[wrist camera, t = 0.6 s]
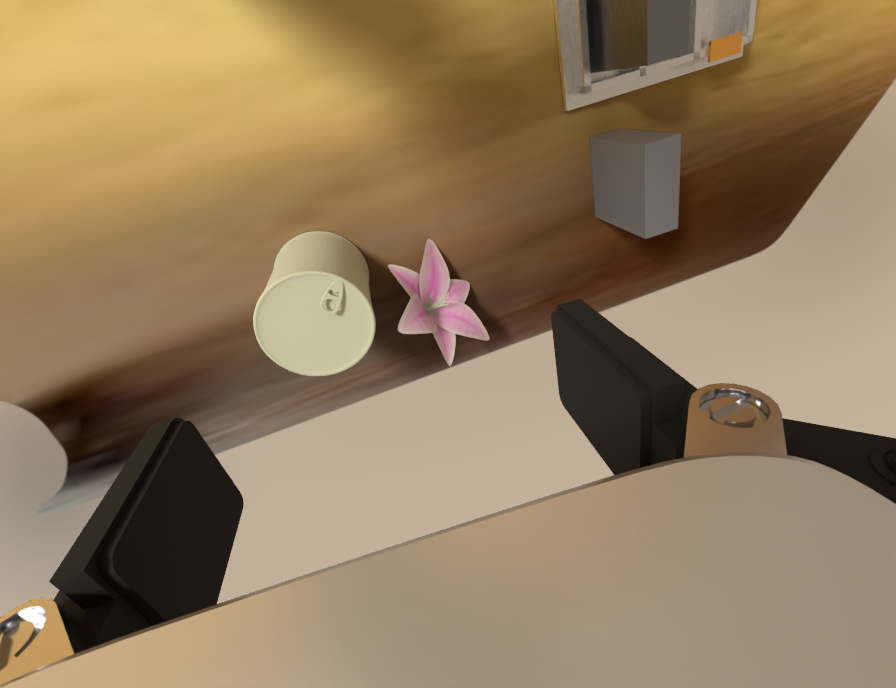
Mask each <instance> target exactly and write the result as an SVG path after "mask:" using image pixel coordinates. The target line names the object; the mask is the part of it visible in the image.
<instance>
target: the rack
mask: <svg viewBox="0 0 896 688" xmlns="http://www.w3.org/2000/svg"><path fill="white" fill-rule="evenodd" d="M553 2H554V12H555V23H556V33H557V44H558V54H559V65H560V75H561V85H562V96H563V106H564V111H570V110H573V109H576V108H579V107H582V106H586V105H589V104H592V103H595V102H598V101H602V100H605V99H608V98H611V97H614V96H618V95H621V94H624V93H627V92H630V91H634V90H637V89H640V88H643V87H646V86H650V85H653V84H656V83H659V82H662V81H666V80H669V79H672V78H675V77H678V76H682V75H685V74H688V73H691V72H694V71H698V70H701V69H704V68H707V67H710V66H714V65H717V64H720V63H723V62H726V61H730V60H733V59H736V58H739V57H742V56H743V47H744V45H745V44H748V43H751V42H753V35H754V26H755V16H756V7H757V0H553Z"/></svg>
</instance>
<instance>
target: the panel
mask: <svg viewBox="0 0 896 688" xmlns="http://www.w3.org/2000/svg"><path fill="white" fill-rule="evenodd" d="M590 150H591V164H592V179H593V193H594V207H595V217H596V218H599V219H601V220H603V221H606V222H608V223H610V224H612V225H615V226H617V227H619V228H621V229H624V230H626V231H628V232H630V233H633V234H635V235H637V236H640V237H642V238H644V239H647V238H650V237H653V236H656V235H659V234H662V233H665V232H668V231H671V230H674V229H677V228H678V216H679V187H680V159H681V133H673V132H660V131H648V130H635V129H623V128H619V129H616V130H613V131H610V132H606V133H603V134H600V135H597V136H594V137H591V138H590Z"/></svg>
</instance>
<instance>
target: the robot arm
mask: <svg viewBox="0 0 896 688" xmlns="http://www.w3.org/2000/svg"><path fill="white" fill-rule="evenodd" d="M551 320H552V330H553V339H554V348H555V358H556V367H557V376H558V386H559V394H560V398H561V401H562V404H563V406H564V407H565V409H566V410H567V411H568V413H569V414H570V415H571V417H572V418H573V419H574V421H575V422H576V423H577V425H578V426H579V428H580V429H581V430H582V432H583V433H584V434H585V436H586V437H587V438H588V440H589V441H590V443H591V444H592V445H593V446H594V448H595V449H596V450H597V452H598V453H599V455H600V456H601V457H602V459H603V460H604V461H605V463H606V464H607V466H608V467H609V468H610V469H611V471H612V472H613V474H614V476H611V477H607V478H604V479H600V480H597V481H594V482H591V483H588V484H585V485H582V486H579V487H575V488H572V489H569V490H565V491H562V492H559V493H556V494H552V495H549V496H546V497H543V498H540V499H537V500H534V501H531V502H527V503H524V504H521V505H519V506H515V507H512V508H509V509H506V510H503V511H500V512H497V513H493V514H490V515H487V516H484V517H481V518H478V519H475V520H472V521H468V522H465V523H462V524H459V525H456V526H453V527H450V528H447V529H444V530H440V531H438V532H435V533H431V534H428V535H426V536H422V537H419V538H416V539H413V540H410V541H407V542H404V543H401V544H398V545H395V546H392V547H388V548H386V549H382V550H379V551H376V552H373V553H370V554H367V555H364V556H361V557H358V558H355V559H352V560H349V561H346V562H343V563H340V564H337V565H334V566H331V567H328V568H325V569H322V570H319V571H315V572H312V573H310V574H306V575H303V576H300V577H297V578H294V579H292V580H288V581H285V582H282V583H279V584H277V585H274V586H270V587H267V588H264V589H262V590H258V591H255V592H252V593H249V594H246V595H243V596H240V597H238V598H234V599H231V600H229V601H226V602H223V603H219V604H217V601H218V597H219V593H220V590H221V586H222V582H223V579H224V575H225V571H226V568H227V564H228V561H229V557H230V553H231V550H232V546H233V542H234V539H235V535H236V532H237V528H238V524H239V521H240V517H241V513H242V509H243V498H242V495H241V493H240V491H239V490H238V488H237V487H236V486H235V484H234V483H233V481H232V480H231V478H230V477H229V475H228V474H227V473H226V471H225V470H224V468H223V467H222V465H221V464H220V462H219V461H218V459H217V458H216V457H215V455H214V454H213V452H212V451H211V449H210V448H209V446H208V445H207V443H206V442H205V441H204V439H203V438H202V436H201V435H200V433H199V432H198V430H197V429H196V427H195V426H194V425H193V424H192V423H191V422H190V421H184V420H182V419H181V418H174V419H171V420H167V421H164V422H160V423H157V424H154V425H151V426H150V427H149V429H148V430H147V432H146V433H145V435H144V436H143V438H142V439H141V441H140V443H139V444H138V446H137V447H136V449H135V450H134V452H133V453H132V455H131V456H130V458H129V459H128V461H127V463H126V464H125V466H124V467H123V469H122V470H121V472H120V473H119V475H118V476H117V478H116V479H115V481H114V483H113V484H112V486H111V487H110V489H109V490H108V492H107V493H106V495H105V496H104V498H103V500H102V501H101V503H100V504H99V506H98V507H97V509H96V510H95V512H94V513H93V515H92V516H91V518H90V520H89V521H88V523H87V524H86V526H85V527H84V529H83V530H82V532H81V533H80V535H79V537H78V538H77V540H76V541H75V543H74V544H73V546H72V547H71V549H70V550H69V552H68V554H67V555H66V557H65V558H64V560H63V561H62V563H61V564H60V566H59V567H58V569H57V570H56V572H55V573H54V575H53V577H52V578H51V580H50V582H51V583H52V584H53V585H54V586H55V587H57V588H58V589H59V590H60V591H59V592H58V594H57V596H56V597H55V599H54V600H53V599H51V598H39V599H34V600H30V601H28V602H26V603H24V604H22V605H20V606H18V607H16V608H14V609H13V610H11V611H10V612H8V613H6V614H5V615H3V616H2V617H0V688H896V439H895V438H890V437H884V436H878V435H873V434H867V433H862V432H856V431H850V430H845V429H839V428H834V427H827V426H822V425H816V424H811V423H806V422H800V421H794V420H788V419H783V418H782V414H781V411H780V408H779V406H778V405H777V403H776V402H775V401H774V400H773V399H771V397H769V396H767V395H766V394H764V393H762V392H761V391H758V390H756V389H753V388H750V387H747V386H742V385H737V384H724V383H723V384H721V383H720V384H712V385H708V386H705V387H702V388H700V389H696V388H695V387H694V386H693V385H691V384H690V383H689V382H688V381H686V380H685V379H684V378H683V377H681V376H680V375H679V374H677V373H676V372H675V371H674V370H672V369H671V368H670V367H668V366H667V365H666V364H665V363H663V362H662V361H661V360H660V359H658V358H657V357H656V356H654V355H653V354H652V353H651V352H649V351H648V350H647V349H645V348H644V347H643V346H642V345H640V344H639V343H638V342H637V341H635V340H634V339H633V338H631V337H629V336H627V335H626V334H624V333H623V332H622V331H621V330H620V329H618V328H617V327H616V326H614V325H613V324H612V323H611V322H609V321H608V320H607V319H606V318H604V317H603V316H602V315H601V314H599V313H598V312H597V311H595V310H594V309H593V308H592V307H590V306H589V305H588V304H587V303H585V302H584V301H583V300H581V299H576V300H573V301H569V302H566V303H563V304H559V305H558V306H557V311H555V312H552V314H551Z"/></svg>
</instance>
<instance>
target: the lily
mask: <svg viewBox="0 0 896 688" xmlns="http://www.w3.org/2000/svg"><path fill="white" fill-rule="evenodd" d="M388 268H389V269H390V271H391V272H392V273H393V275H394V276H395V277H396V279H397V280H398V281H399V283H400V284H401V285H402V287H403V288H404V289H405V290H406V292H407V293H408V294H409V296H410V297H411V298H410V300H409V303H408V305H407V307H406V309H405V311H404V313H403V315H402V317H401V319H400V322H399V325H398V331H399V332H400V333H402V334H424V333H433V335H434V337H435V339H436V341H437V343H438V345H439V348H440V350H441V352H442V354H443V356H444V358H445V360H446V362H447V364H448V365H449V366H450V365H451V364H452V361H453V358H454V353H455V345H456V336H455V334H458V335H462V336H467V337H472V338H476V339H480V340H485V341H488V340H489V335H488V333H487V331H486V329H485V327H484V326H483V324H482V322H481V321H480V319H479V318H478V317H477V315H476V314H475V313H474V312H473V310H472V309H471V308H470V307H468V306H467V305H466V304H464V302H465V300H466V298H467V296H468V292H469V288H470V284H469V283H468V282H467V281H465V280H459V279H451V280H450V276H449V271H448V268H447V266H446V263H445V261H444V259H443V257H442V255H441V253H440V251H439V250H438V248H437V246H436V245H435V243H434V242H433V241H432V240H430V239H428V240H427V242H426V246H425V252H424V257H423V261H422V266H421V271H420V275H419V274H418V273H416V272H414V271H412V270H410V269H407V268H404V267H401V266H397V265H392V264H390V265H388Z"/></svg>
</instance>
